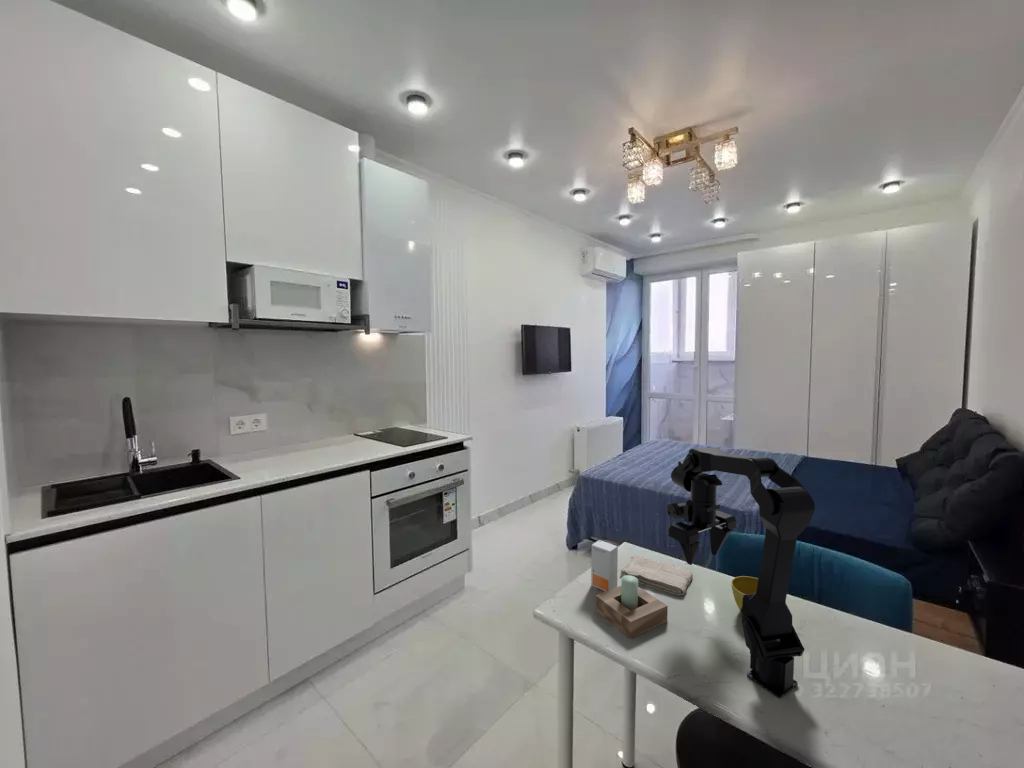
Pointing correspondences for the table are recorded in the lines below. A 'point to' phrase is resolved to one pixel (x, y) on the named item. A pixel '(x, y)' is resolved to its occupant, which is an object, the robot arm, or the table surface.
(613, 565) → the skincare box
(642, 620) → the walnut socket
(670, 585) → the washcloth
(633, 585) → the sage peg
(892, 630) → the table surface
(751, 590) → the yellow bowl
